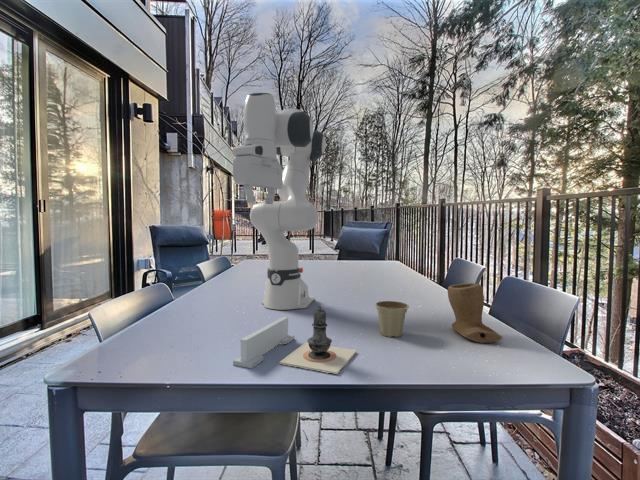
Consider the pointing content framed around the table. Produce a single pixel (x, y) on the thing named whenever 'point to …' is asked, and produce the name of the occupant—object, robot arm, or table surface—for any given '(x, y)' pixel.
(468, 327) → the brown boot
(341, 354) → the mat
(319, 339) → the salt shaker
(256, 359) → the acrylic wall
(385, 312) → the flower pot
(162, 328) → the table surface
